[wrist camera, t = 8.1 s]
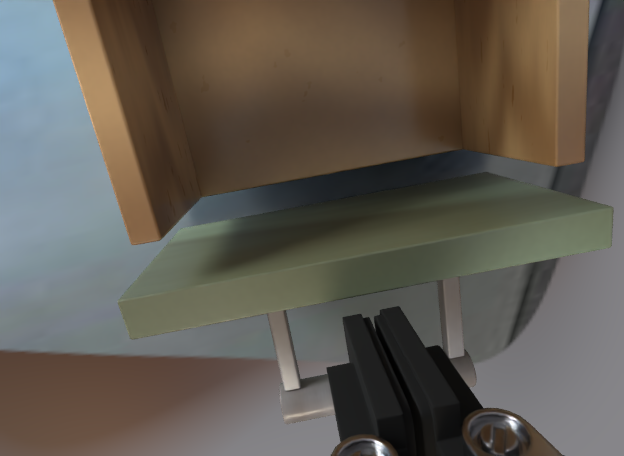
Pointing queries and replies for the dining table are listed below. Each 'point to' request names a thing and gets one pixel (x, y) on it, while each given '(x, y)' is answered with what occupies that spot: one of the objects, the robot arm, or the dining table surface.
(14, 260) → the dining table surface
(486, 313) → the dining table surface
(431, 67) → the drawer
